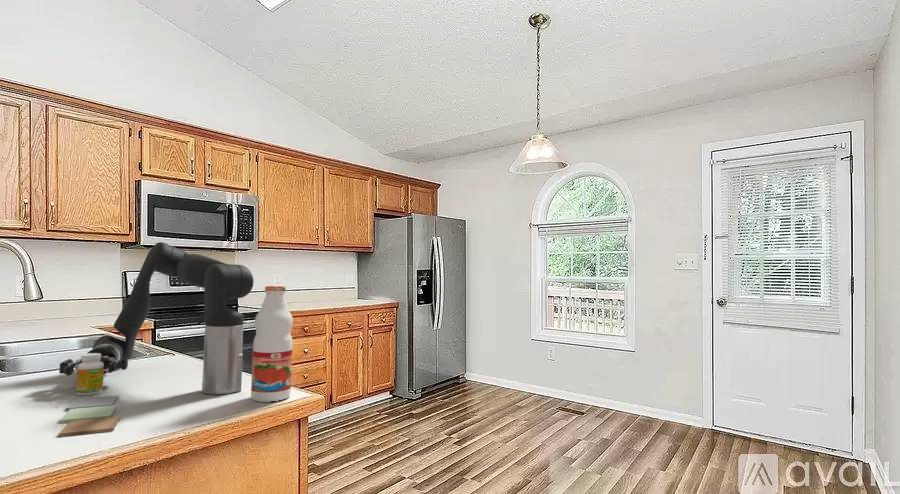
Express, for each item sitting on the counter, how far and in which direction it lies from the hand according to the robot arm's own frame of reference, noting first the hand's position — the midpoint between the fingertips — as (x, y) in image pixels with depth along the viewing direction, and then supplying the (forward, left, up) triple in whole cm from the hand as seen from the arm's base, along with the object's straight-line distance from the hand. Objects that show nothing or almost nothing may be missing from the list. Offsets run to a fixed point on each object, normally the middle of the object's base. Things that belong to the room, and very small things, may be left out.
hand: (89, 370), depth 120 cm
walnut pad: (-6, +30, -6) cm, 31 cm away
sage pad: (-4, +20, -6) cm, 21 cm away
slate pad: (-3, +11, -6) cm, 13 cm away
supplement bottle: (0, -1, -6) cm, 6 cm away
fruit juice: (-41, +20, -6) cm, 46 cm away
